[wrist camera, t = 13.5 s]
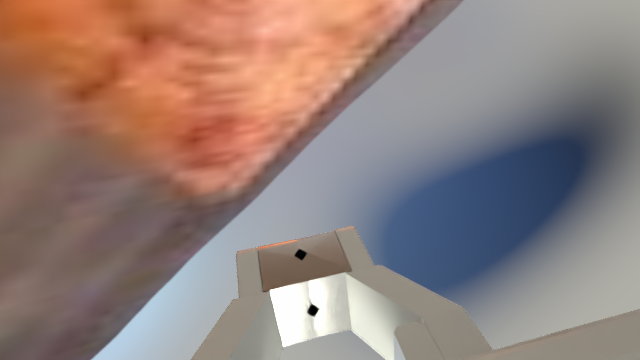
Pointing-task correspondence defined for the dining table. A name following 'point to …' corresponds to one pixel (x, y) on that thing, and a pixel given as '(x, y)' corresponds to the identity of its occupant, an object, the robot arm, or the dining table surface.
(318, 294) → the robot arm
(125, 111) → the dining table surface
